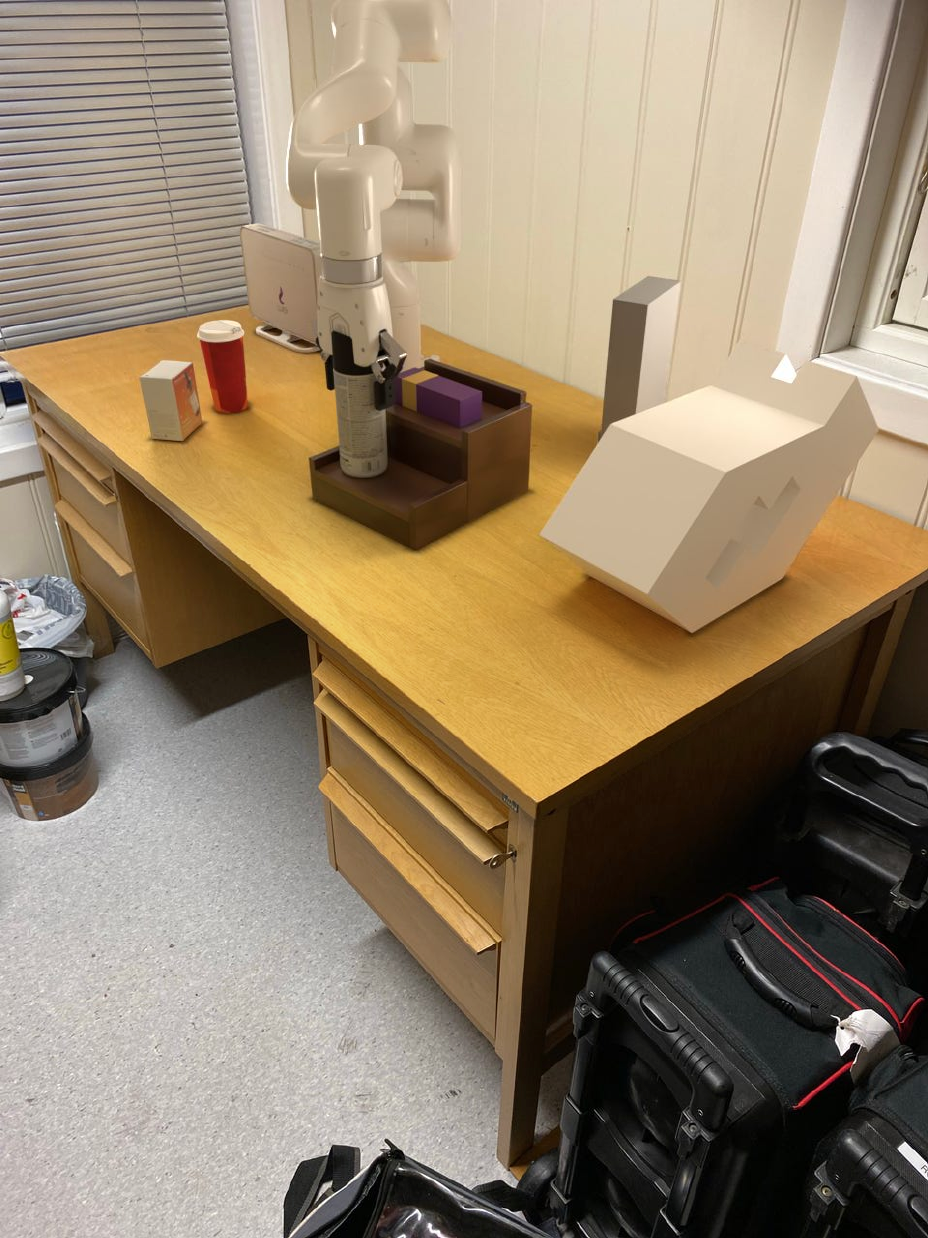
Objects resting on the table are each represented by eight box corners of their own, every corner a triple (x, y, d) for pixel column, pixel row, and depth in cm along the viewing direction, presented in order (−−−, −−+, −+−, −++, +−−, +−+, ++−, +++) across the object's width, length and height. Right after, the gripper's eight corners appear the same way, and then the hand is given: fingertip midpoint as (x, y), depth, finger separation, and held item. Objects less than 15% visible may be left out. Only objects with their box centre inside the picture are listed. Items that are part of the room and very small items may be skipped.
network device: (241, 327, 200) (228, 226, 188) (277, 318, 205) (266, 219, 193) (313, 359, 185) (303, 251, 173) (349, 348, 189) (342, 243, 178)
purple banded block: (415, 393, 139) (415, 366, 137) (482, 419, 132) (482, 390, 130) (393, 402, 136) (392, 374, 134) (459, 428, 129) (460, 400, 127)
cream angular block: (647, 594, 101) (830, 311, 100) (539, 534, 111) (704, 277, 110) (726, 663, 121) (879, 429, 120) (629, 608, 131) (769, 392, 130)
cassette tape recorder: (626, 429, 158) (643, 274, 144) (661, 437, 156) (682, 280, 141) (592, 461, 148) (606, 298, 134) (629, 470, 146) (648, 305, 131)
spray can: (395, 462, 137) (389, 322, 125) (376, 482, 131) (369, 339, 120) (353, 455, 138) (343, 317, 127) (332, 475, 133) (320, 333, 122)
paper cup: (262, 402, 167) (252, 322, 159) (236, 418, 161) (224, 336, 153) (225, 395, 170) (214, 316, 162) (198, 410, 164) (185, 329, 156)
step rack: (425, 448, 152) (423, 356, 143) (528, 491, 140) (533, 393, 132) (312, 498, 138) (302, 400, 130) (415, 550, 126) (412, 446, 118)
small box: (183, 442, 154) (171, 379, 148) (150, 439, 154) (138, 376, 148) (203, 422, 160) (193, 361, 154) (172, 419, 161) (161, 358, 155)
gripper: (284, 260, 122) (298, 387, 132) (377, 289, 112) (384, 424, 122) (329, 247, 126) (339, 372, 136) (422, 275, 117) (425, 407, 127)
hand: (360, 397), depth 129 cm, fingers open, 9 cm apart
